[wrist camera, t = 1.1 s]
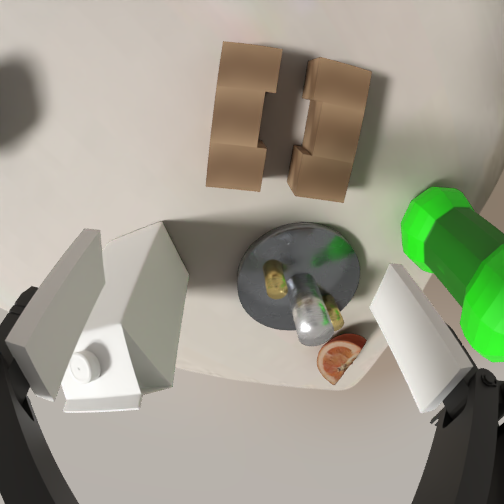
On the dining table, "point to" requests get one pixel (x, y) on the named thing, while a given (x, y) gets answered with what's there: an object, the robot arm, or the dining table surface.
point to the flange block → (316, 131)
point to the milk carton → (130, 326)
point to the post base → (295, 260)
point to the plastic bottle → (461, 262)
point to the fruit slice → (339, 355)
